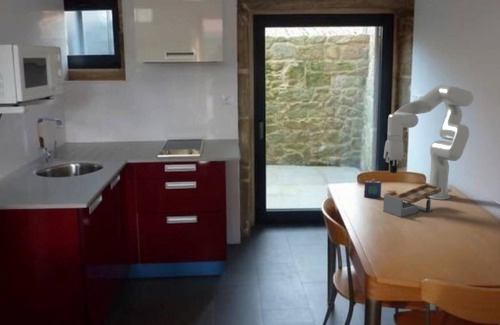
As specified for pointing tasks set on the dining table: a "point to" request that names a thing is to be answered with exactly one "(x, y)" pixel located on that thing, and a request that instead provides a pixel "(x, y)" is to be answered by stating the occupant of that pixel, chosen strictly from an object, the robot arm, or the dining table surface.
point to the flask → (372, 189)
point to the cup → (398, 206)
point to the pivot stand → (423, 207)
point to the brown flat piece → (416, 193)
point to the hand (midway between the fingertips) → (393, 172)
